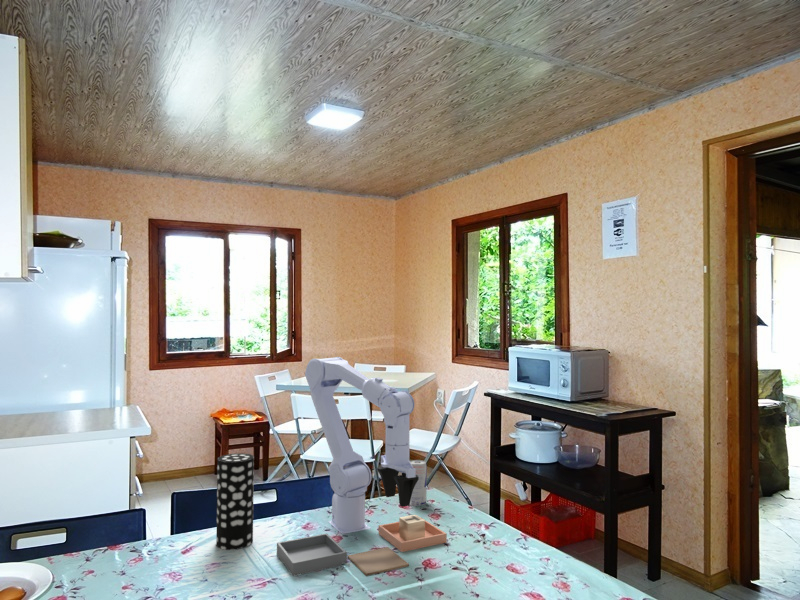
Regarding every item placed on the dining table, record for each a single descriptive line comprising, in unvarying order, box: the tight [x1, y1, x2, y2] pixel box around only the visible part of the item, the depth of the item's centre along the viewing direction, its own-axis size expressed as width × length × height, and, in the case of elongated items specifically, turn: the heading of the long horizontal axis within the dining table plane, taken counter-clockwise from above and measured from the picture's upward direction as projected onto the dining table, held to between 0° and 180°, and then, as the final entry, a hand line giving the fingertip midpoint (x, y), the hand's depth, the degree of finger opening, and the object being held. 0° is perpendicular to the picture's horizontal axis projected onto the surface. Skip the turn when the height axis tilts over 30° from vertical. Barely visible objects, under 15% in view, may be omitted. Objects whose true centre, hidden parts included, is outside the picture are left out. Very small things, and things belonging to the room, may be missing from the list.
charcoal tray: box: [276, 533, 348, 577], centre depth 126 cm, size 12×12×3 cm
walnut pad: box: [347, 546, 410, 577], centre depth 123 cm, size 10×10×1 cm
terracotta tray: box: [378, 517, 447, 553], centre depth 136 cm, size 12×12×3 cm
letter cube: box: [398, 514, 426, 541], centre depth 136 cm, size 4×4×5 cm
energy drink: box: [409, 459, 428, 507], centre depth 163 cm, size 5×5×12 cm
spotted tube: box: [215, 452, 255, 551], centre depth 135 cm, size 8×8×20 cm
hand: (397, 501), depth 135 cm, fingers open, 7 cm apart
